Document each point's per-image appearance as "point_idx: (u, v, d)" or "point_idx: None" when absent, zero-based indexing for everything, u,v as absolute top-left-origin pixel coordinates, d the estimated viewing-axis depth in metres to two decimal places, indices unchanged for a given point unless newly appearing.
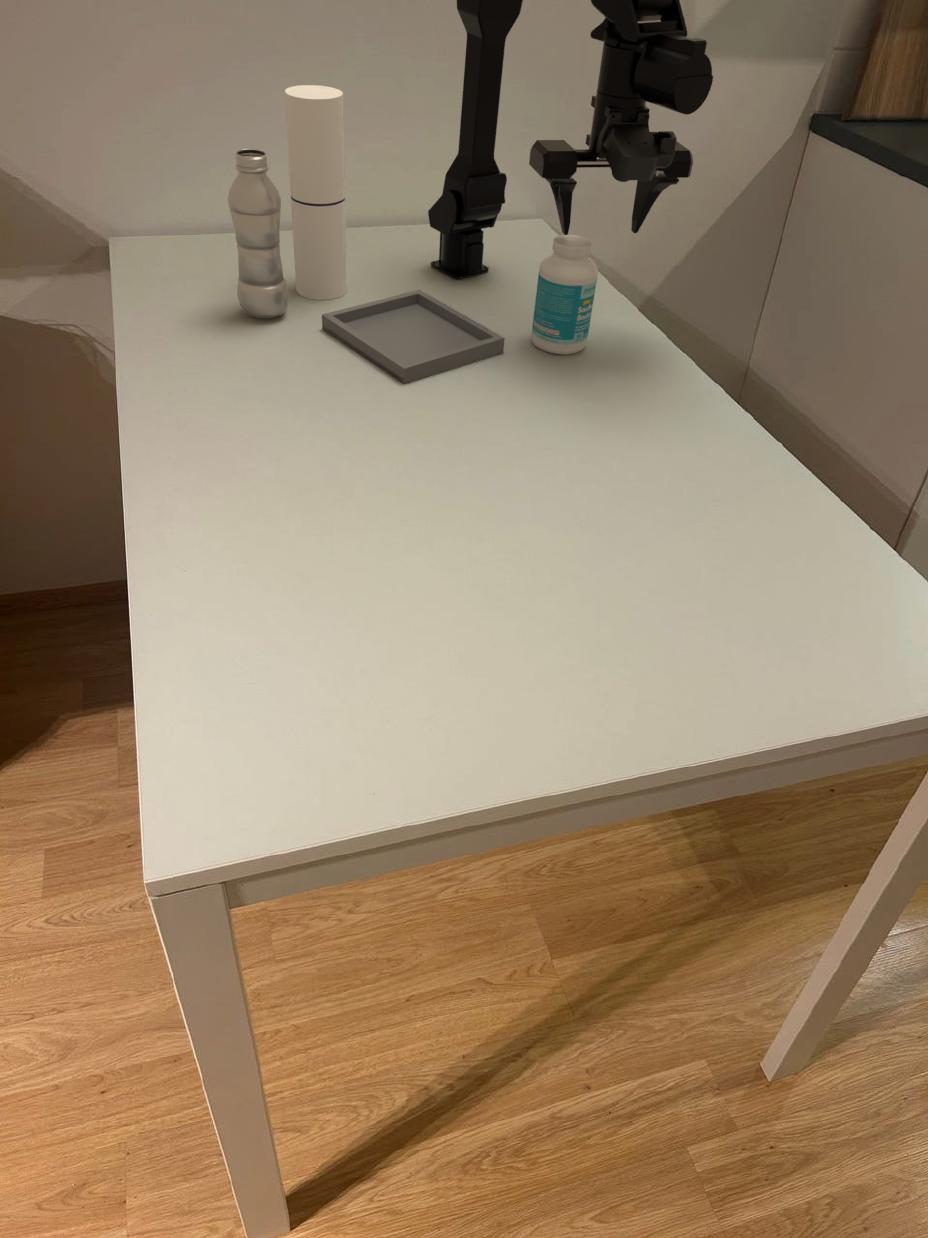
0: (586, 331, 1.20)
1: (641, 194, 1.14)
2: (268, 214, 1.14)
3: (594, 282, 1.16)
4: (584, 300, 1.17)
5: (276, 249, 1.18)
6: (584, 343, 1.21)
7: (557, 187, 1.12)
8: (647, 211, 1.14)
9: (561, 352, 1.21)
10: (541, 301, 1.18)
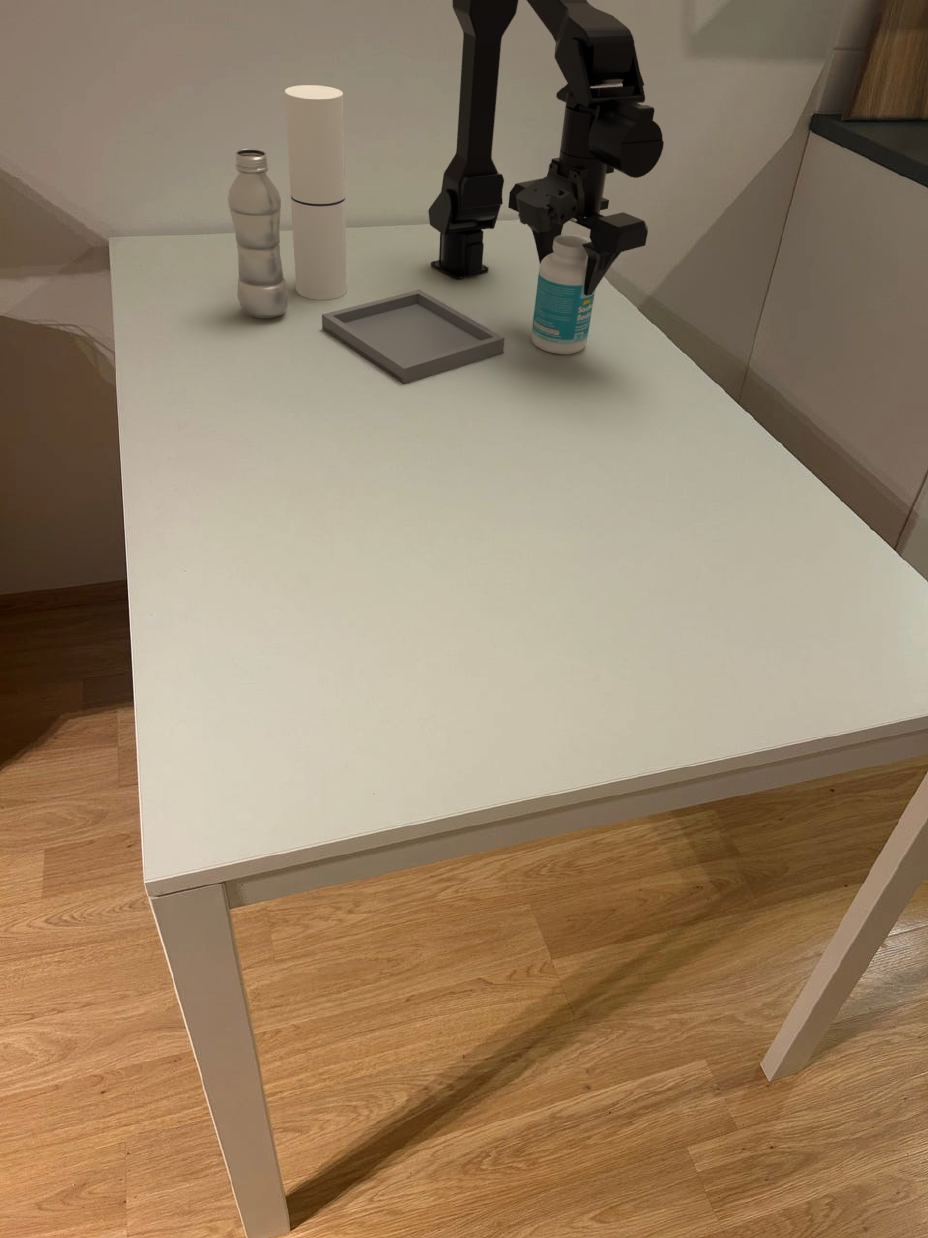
0: (586, 331, 1.20)
1: None
2: (268, 214, 1.14)
3: None
4: (584, 300, 1.17)
5: (276, 249, 1.18)
6: (584, 342, 1.21)
7: None
8: (590, 276, 1.13)
9: (562, 352, 1.21)
10: (541, 301, 1.18)
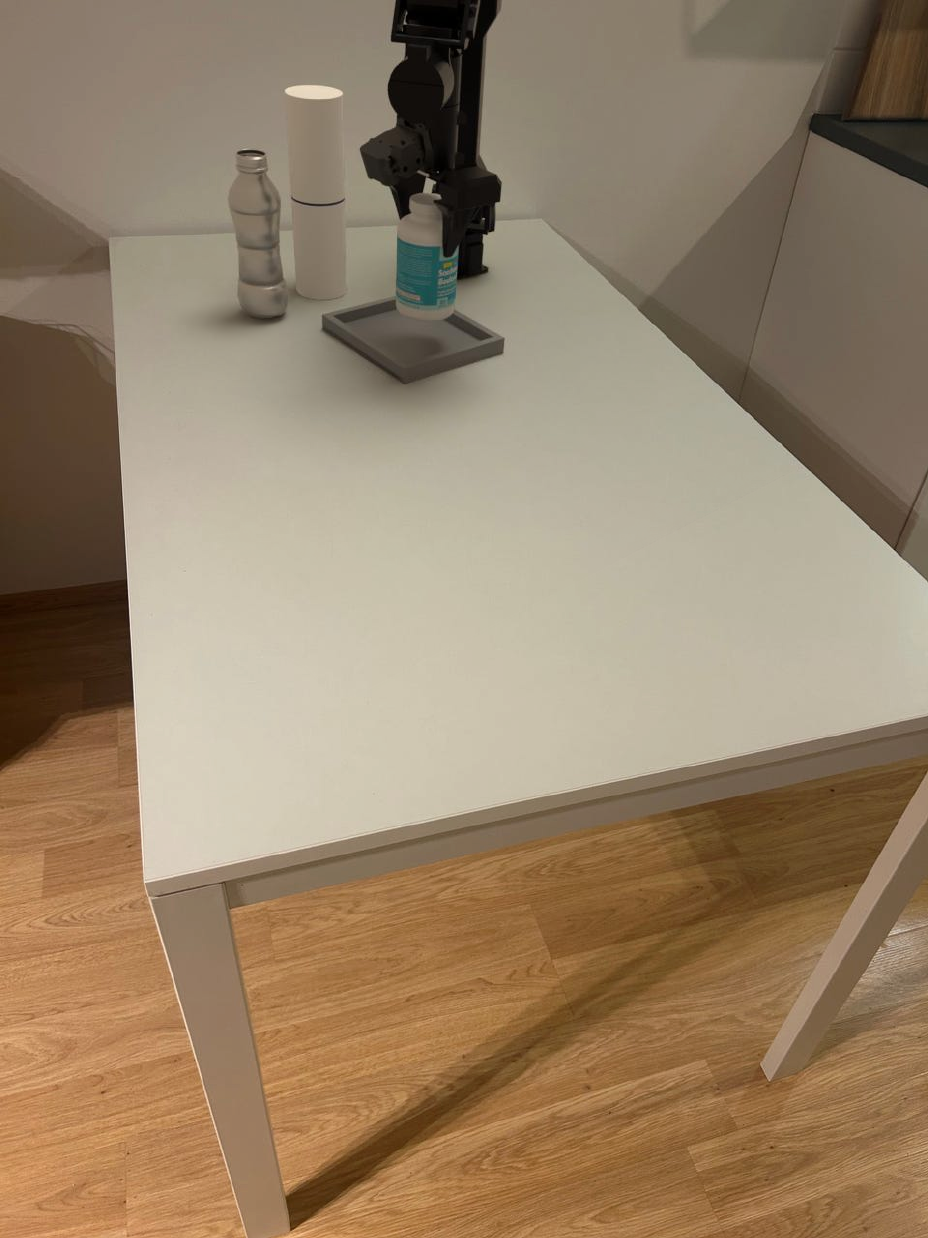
0: (451, 297, 1.14)
1: None
2: (268, 214, 1.14)
3: None
4: (444, 262, 1.10)
5: (276, 249, 1.18)
6: (449, 309, 1.14)
7: None
8: (446, 235, 1.06)
9: (425, 319, 1.14)
10: (400, 264, 1.11)
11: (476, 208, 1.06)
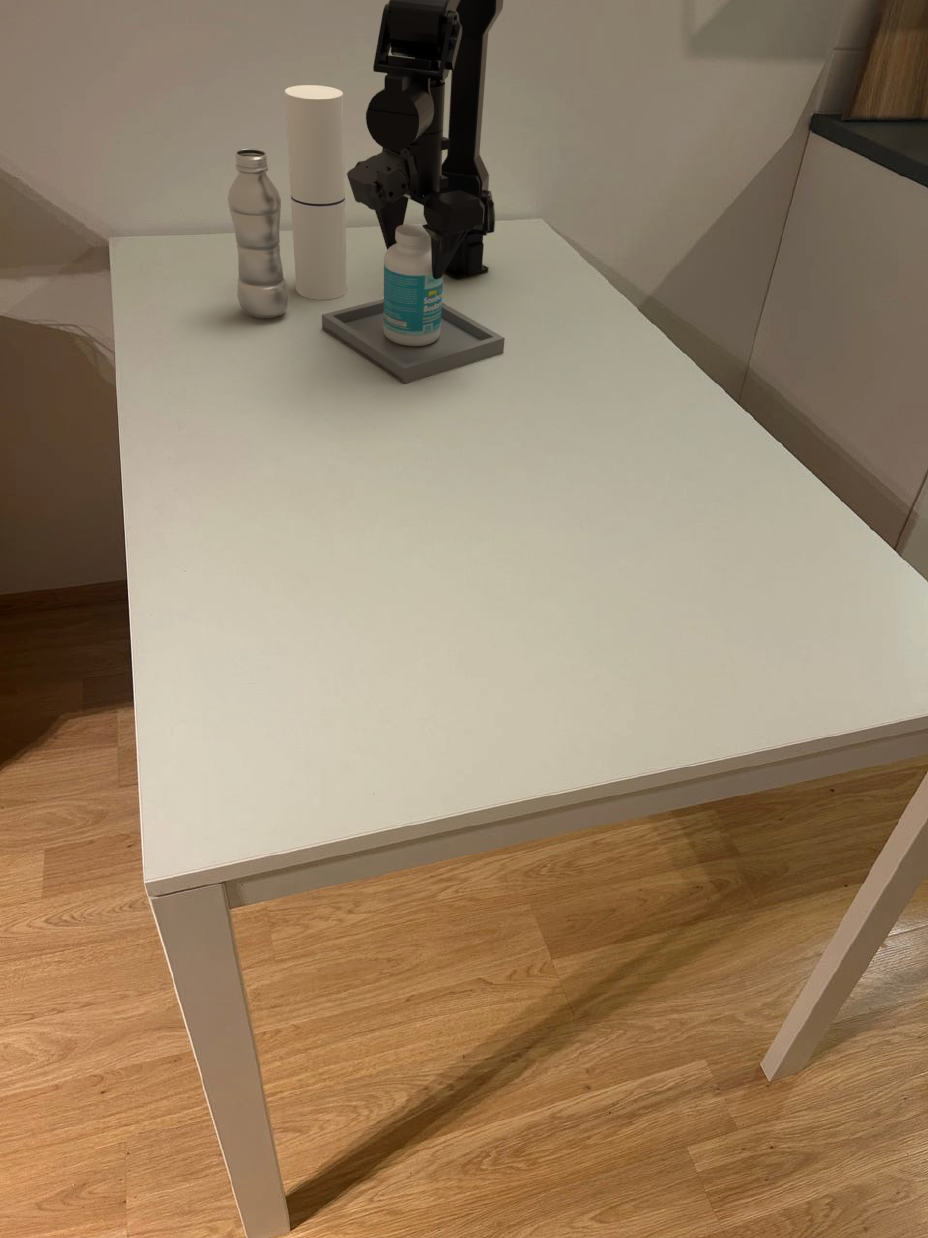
0: (436, 323, 1.18)
1: None
2: (268, 214, 1.14)
3: None
4: (429, 290, 1.14)
5: (276, 249, 1.18)
6: (435, 334, 1.19)
7: None
8: (435, 258, 1.10)
9: (411, 344, 1.18)
10: (387, 292, 1.16)
11: (464, 232, 1.09)
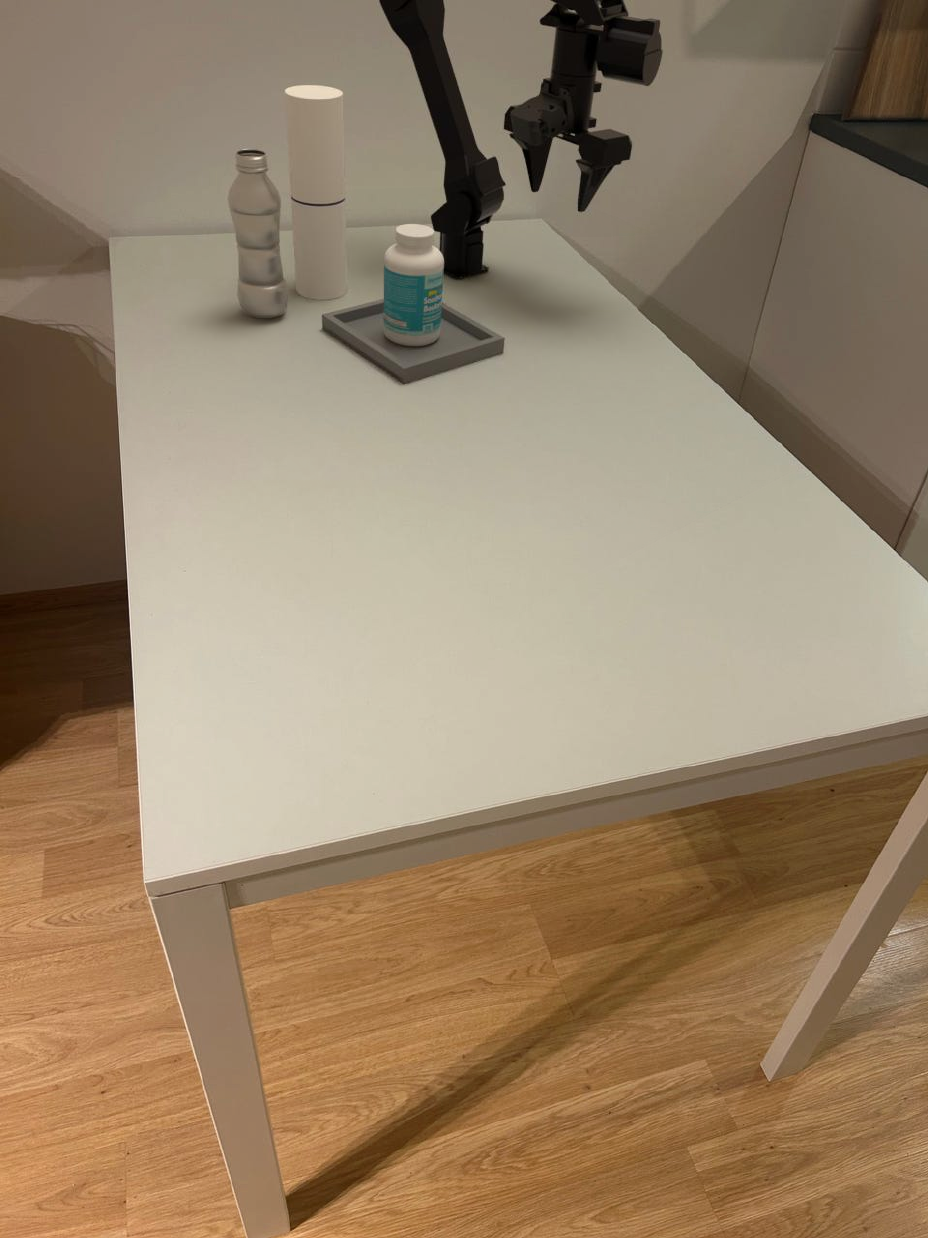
0: (436, 323, 1.18)
1: None
2: (268, 214, 1.14)
3: (439, 272, 1.14)
4: (429, 290, 1.14)
5: (276, 249, 1.18)
6: (435, 334, 1.19)
7: None
8: (583, 191, 1.22)
9: (411, 344, 1.18)
10: (387, 292, 1.16)
11: (610, 167, 1.21)
